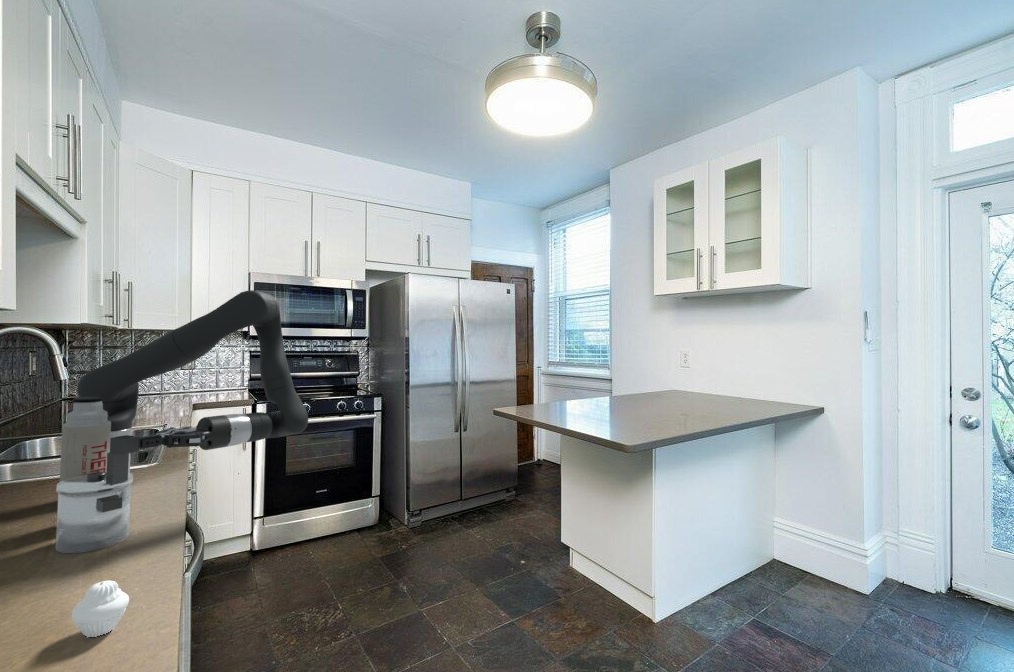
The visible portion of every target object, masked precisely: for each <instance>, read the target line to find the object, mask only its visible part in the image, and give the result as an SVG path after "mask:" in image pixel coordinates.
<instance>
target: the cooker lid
mask: <svg viewBox="0 0 1014 672" xmlns="http://www.w3.org/2000/svg"><path fill="white" fill-rule="evenodd" d="M140 437H141V436H139V435H131V436H129V435H124V436H119V437H113V438H110V452H109V453H107V470H106V472H94V473H89V474H87V475H81V476H77V477H73V478H69V479H66V480H63V481H61V482H60V481H59V482H58V483H57V484H56V491H55V492H56V494H58V493H59V494H64V495H82V494H92V493H99V492H105V491H110V490H114V489H118V488H121V487H124V486H127V485H129V484H131V485H132V483H133V481H134V474H133V473H132V472H130V473H129V472H128V463H129V453H131V454H132V453H137V452H140V449H139V440H140Z"/></svg>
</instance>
